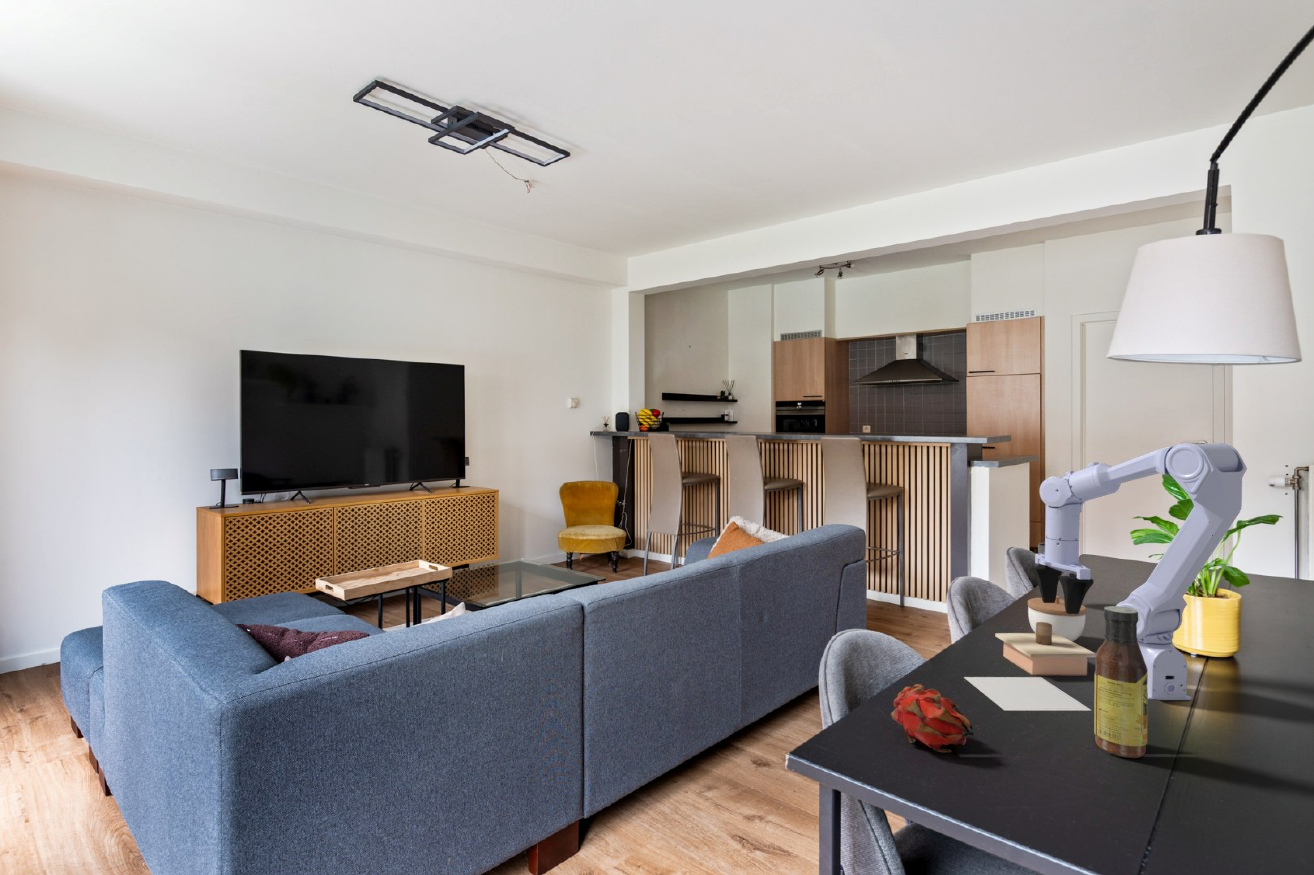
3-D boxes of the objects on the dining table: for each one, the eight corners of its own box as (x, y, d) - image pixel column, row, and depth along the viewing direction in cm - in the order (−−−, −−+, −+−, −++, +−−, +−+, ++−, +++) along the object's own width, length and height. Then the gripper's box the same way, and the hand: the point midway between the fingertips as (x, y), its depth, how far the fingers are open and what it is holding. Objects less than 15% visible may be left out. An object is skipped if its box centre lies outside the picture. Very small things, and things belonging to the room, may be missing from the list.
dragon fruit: (891, 734, 105) (966, 778, 96) (868, 716, 100) (946, 760, 91) (916, 685, 107) (992, 723, 98) (895, 664, 102) (974, 702, 93)
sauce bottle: (1155, 763, 94) (1160, 617, 93) (1104, 758, 95) (1108, 614, 94) (1132, 740, 100) (1136, 605, 100) (1085, 736, 101) (1089, 602, 101)
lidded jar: (1069, 633, 151) (1070, 590, 150) (1095, 649, 140) (1097, 604, 140) (1018, 631, 152) (1019, 589, 152) (1040, 647, 141) (1041, 602, 141)
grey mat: (1091, 712, 110) (1091, 710, 110) (1004, 712, 109) (1004, 710, 109) (1040, 679, 124) (1040, 677, 124) (963, 679, 123) (963, 677, 123)
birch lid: (1096, 657, 124) (1096, 634, 124) (1030, 657, 123) (1031, 634, 123) (1055, 636, 136) (1055, 614, 136) (995, 636, 135) (995, 615, 135)
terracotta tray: (1086, 677, 125) (1087, 655, 125) (1032, 677, 125) (1032, 655, 124) (1053, 658, 135) (1054, 637, 135) (1003, 658, 135) (1003, 637, 134)
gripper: (1021, 532, 141) (1019, 598, 142) (1064, 545, 127) (1062, 618, 127) (1055, 532, 141) (1053, 598, 142) (1102, 545, 127) (1100, 618, 127)
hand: (1060, 607), depth 135 cm, fingers open, 7 cm apart
